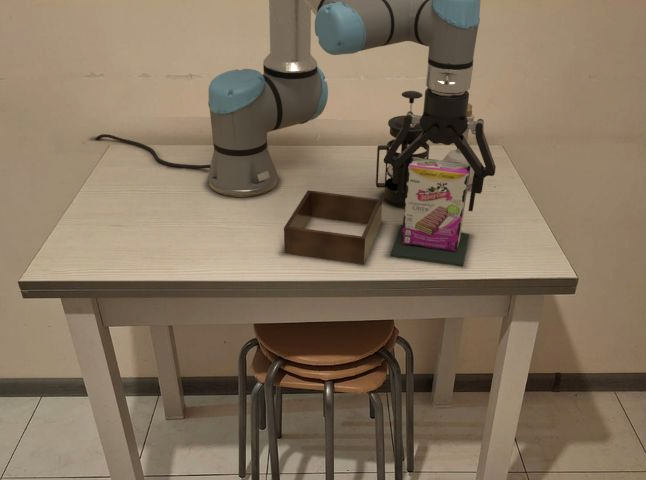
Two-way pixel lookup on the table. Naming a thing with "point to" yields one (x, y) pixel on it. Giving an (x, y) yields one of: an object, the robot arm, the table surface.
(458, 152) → the potion bottle
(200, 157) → the table surface
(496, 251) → the table surface
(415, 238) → the candy bar box
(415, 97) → the french press
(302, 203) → the crate
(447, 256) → the mat
